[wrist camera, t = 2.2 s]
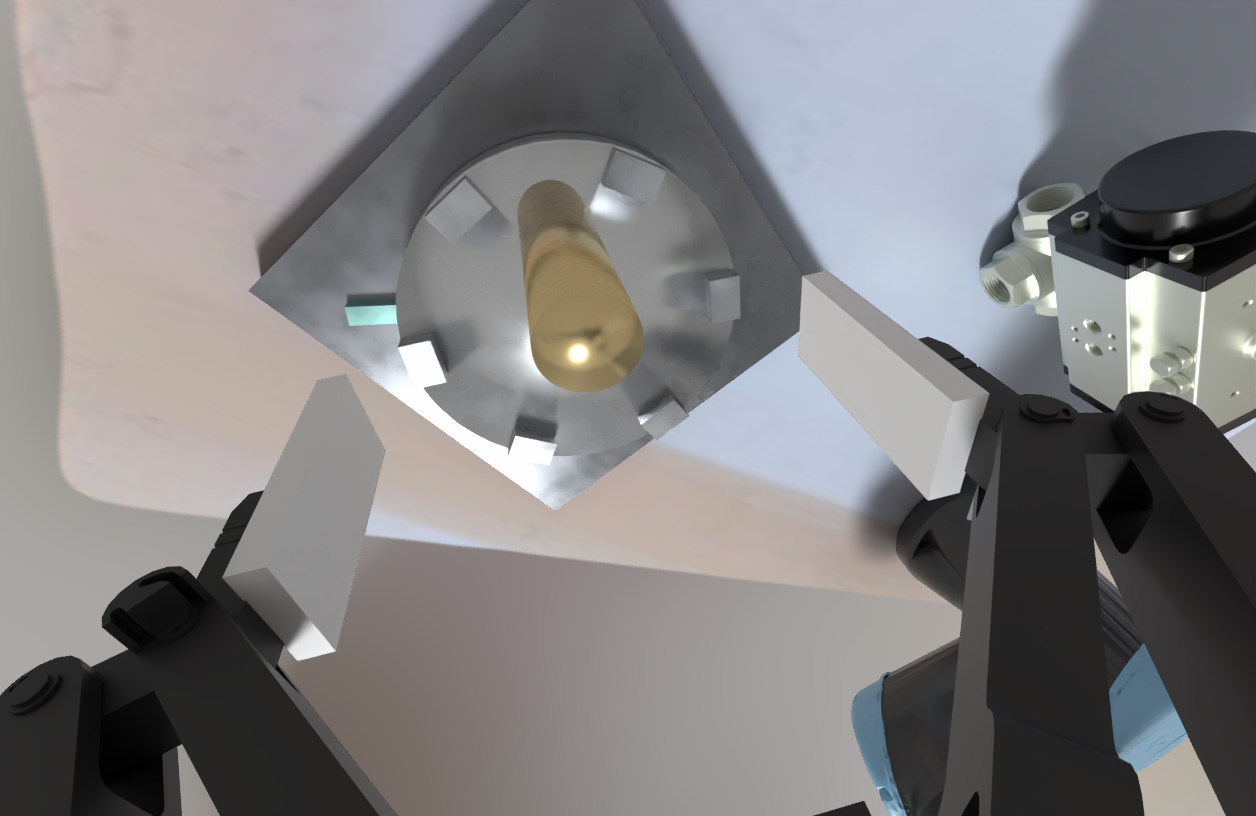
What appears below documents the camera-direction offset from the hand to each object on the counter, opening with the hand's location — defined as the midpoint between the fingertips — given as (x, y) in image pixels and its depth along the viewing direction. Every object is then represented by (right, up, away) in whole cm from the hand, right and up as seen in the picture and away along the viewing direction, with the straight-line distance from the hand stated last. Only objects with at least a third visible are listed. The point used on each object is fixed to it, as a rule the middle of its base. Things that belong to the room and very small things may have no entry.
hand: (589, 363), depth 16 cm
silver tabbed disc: (-3, +5, +20) cm, 20 cm away
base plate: (-3, +7, +21) cm, 23 cm away
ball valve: (+31, +11, +27) cm, 43 cm away
